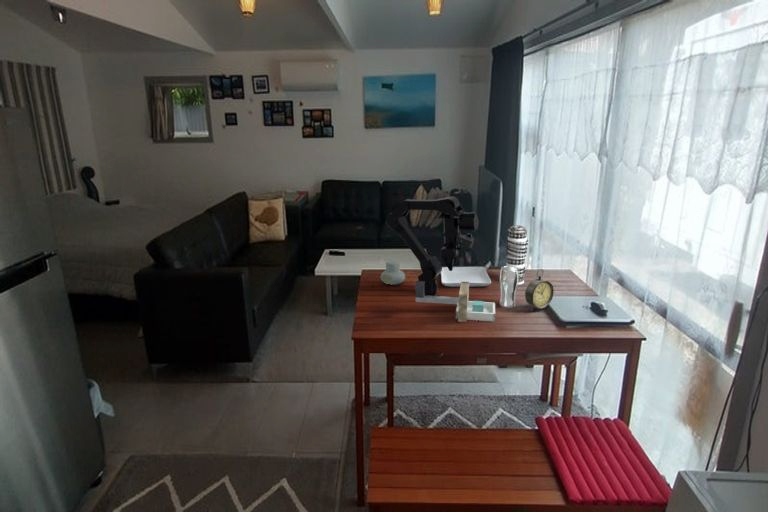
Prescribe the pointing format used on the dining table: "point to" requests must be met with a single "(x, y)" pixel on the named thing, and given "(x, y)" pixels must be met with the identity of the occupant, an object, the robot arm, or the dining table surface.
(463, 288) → the guide frame
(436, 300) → the grey l-shaped block
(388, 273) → the air freshener
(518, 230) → the decorative candle
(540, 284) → the alarm clock
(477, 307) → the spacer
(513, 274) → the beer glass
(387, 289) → the dining table surface
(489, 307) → the tray
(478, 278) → the salad plate
